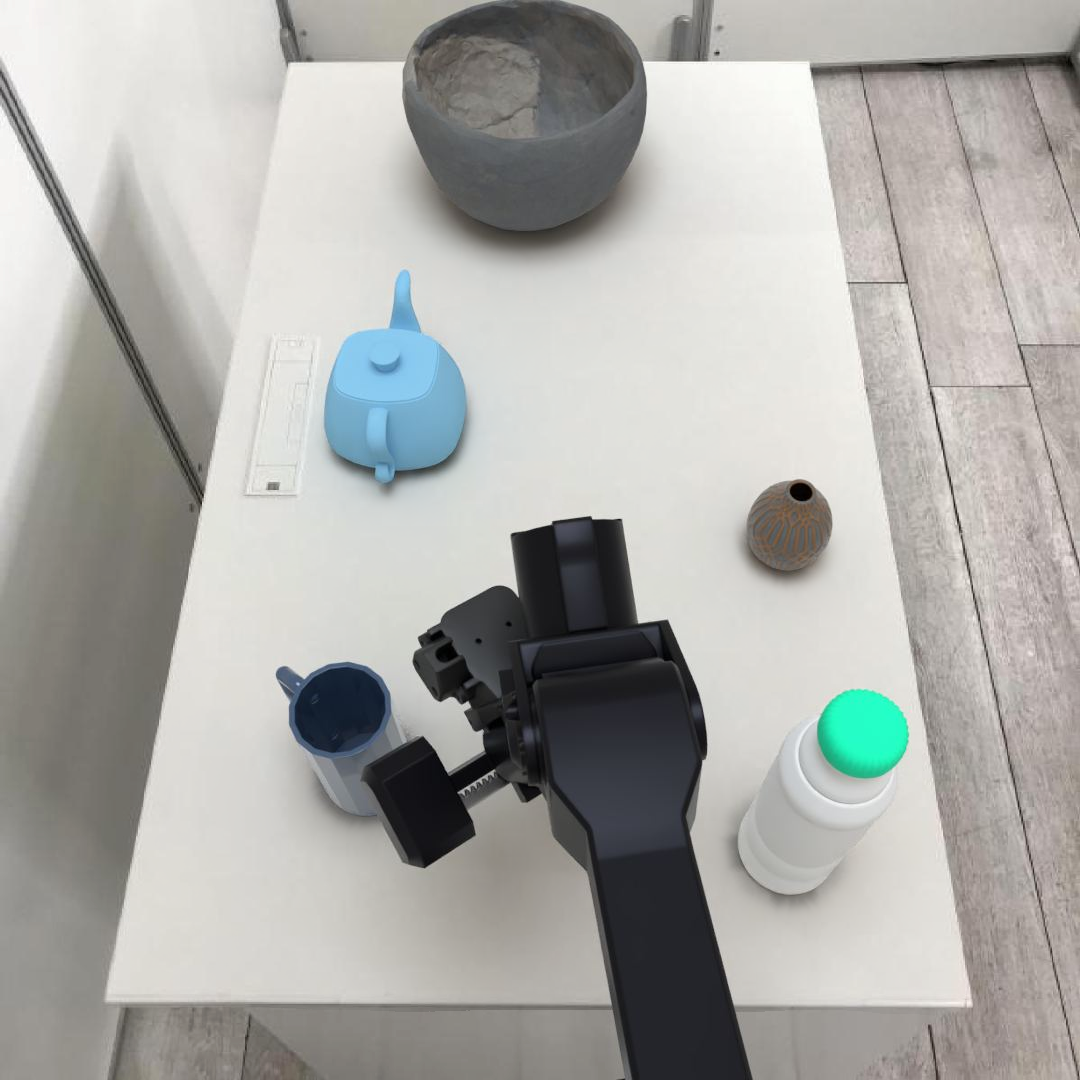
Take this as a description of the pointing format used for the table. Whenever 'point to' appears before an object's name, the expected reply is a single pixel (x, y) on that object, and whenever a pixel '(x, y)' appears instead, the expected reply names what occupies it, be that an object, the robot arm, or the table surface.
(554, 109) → the bowl
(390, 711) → the mug
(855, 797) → the water bottle
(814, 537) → the vase
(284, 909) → the table surface
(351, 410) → the teapot
